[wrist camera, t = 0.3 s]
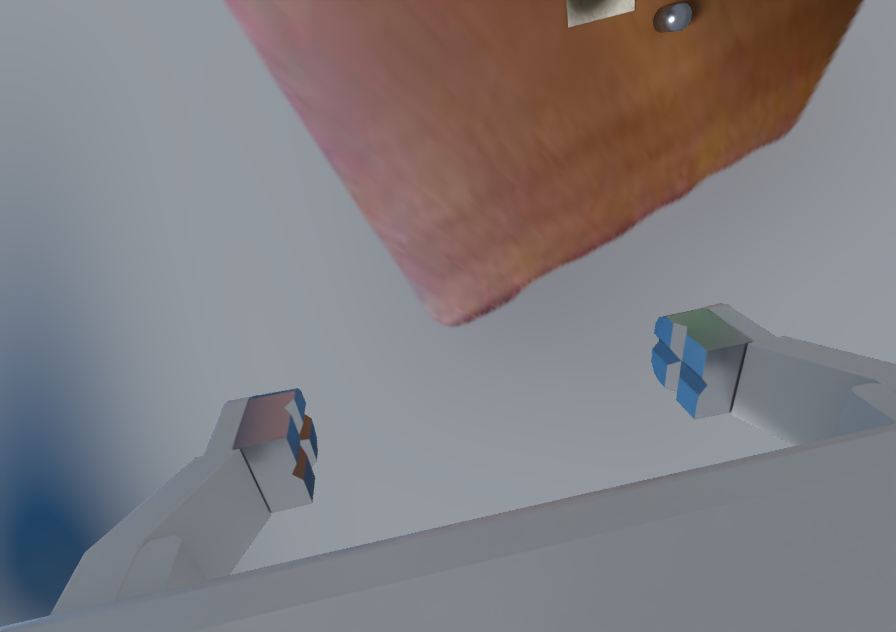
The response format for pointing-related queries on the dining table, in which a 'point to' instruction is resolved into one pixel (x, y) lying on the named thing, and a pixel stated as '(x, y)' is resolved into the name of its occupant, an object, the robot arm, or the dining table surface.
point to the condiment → (595, 9)
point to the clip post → (672, 18)
